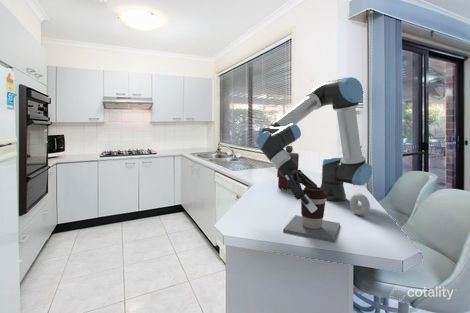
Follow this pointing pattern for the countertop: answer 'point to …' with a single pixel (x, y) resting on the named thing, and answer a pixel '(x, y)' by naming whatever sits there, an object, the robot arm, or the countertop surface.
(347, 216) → the countertop surface
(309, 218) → the coffee cup
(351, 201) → the donut
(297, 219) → the mat
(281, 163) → the robot arm
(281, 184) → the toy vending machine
